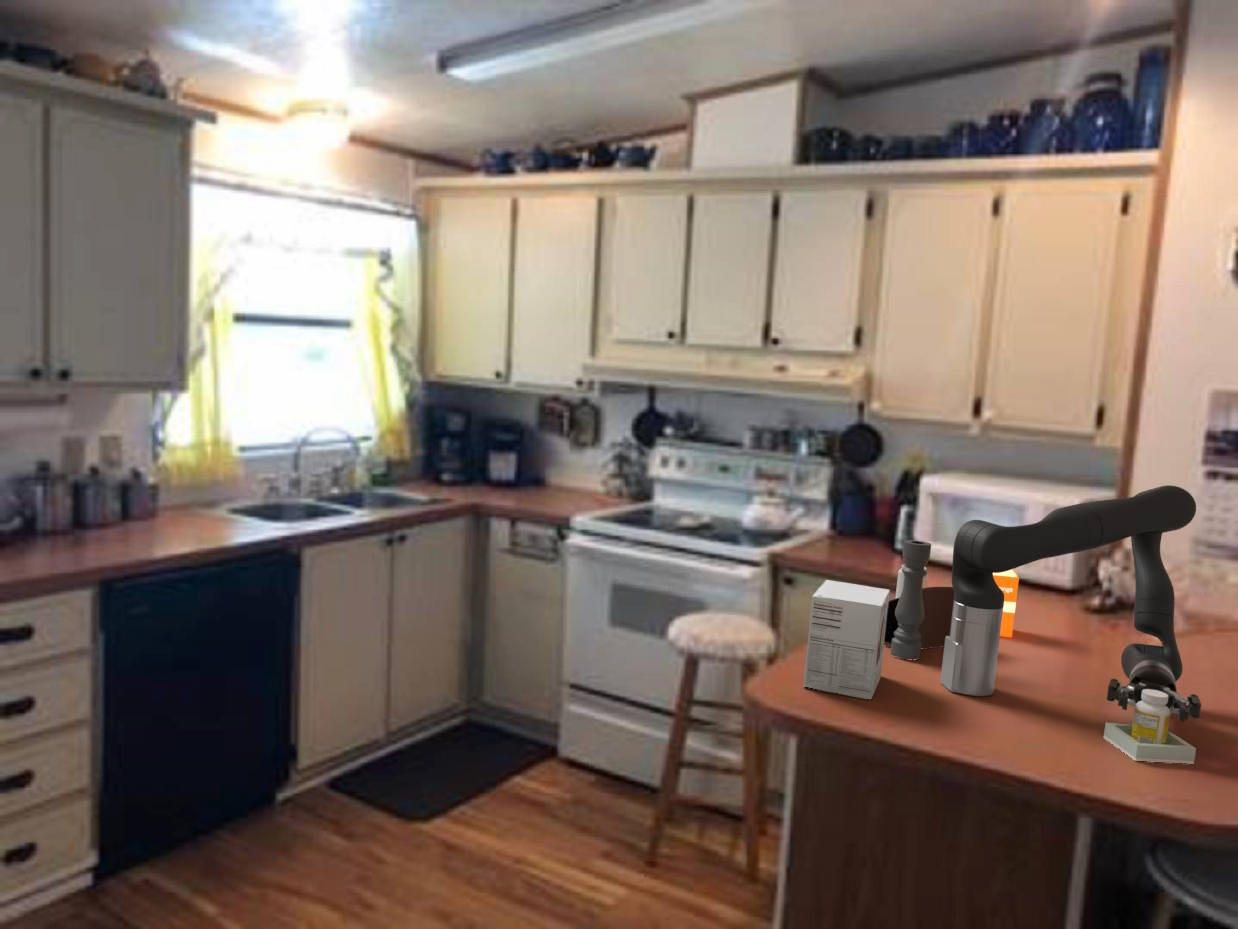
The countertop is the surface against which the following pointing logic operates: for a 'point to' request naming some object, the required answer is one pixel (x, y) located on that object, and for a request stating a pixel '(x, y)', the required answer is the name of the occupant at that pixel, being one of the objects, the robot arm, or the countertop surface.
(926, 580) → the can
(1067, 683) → the countertop surface
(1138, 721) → the supplement bottle
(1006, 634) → the orange juice
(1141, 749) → the square tray
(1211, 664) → the countertop surface
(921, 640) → the letter holder
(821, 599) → the supplement box
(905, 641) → the candle holder
